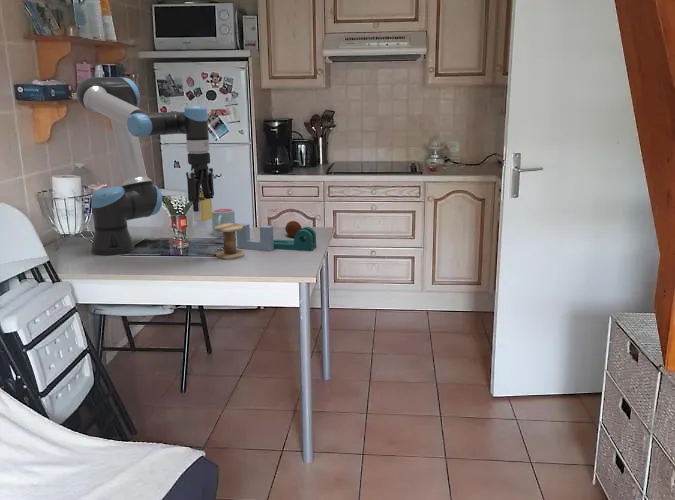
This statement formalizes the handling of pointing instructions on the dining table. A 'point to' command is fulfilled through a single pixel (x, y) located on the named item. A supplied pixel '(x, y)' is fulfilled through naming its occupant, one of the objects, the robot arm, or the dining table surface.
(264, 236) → the notch board
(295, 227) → the potato
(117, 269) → the dining table surface
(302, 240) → the bracket
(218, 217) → the mug
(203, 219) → the yellow block
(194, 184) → the robot arm
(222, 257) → the bobbin
